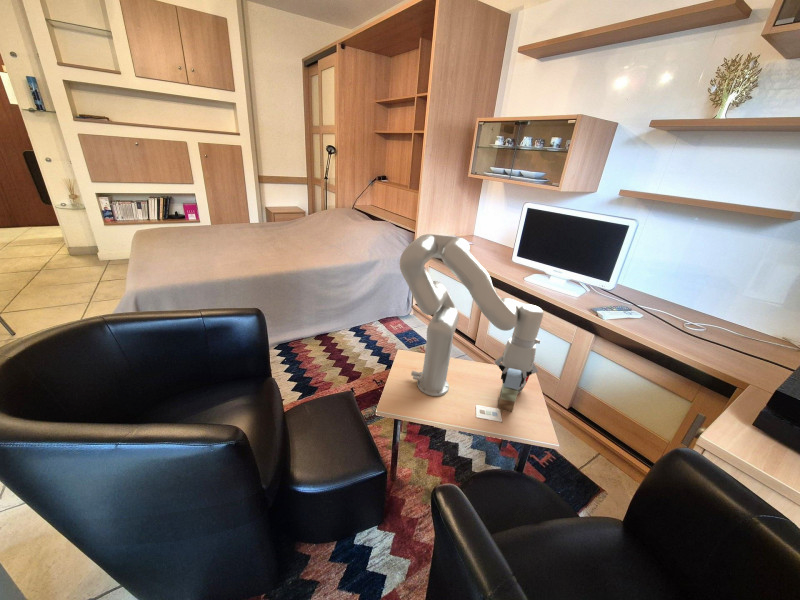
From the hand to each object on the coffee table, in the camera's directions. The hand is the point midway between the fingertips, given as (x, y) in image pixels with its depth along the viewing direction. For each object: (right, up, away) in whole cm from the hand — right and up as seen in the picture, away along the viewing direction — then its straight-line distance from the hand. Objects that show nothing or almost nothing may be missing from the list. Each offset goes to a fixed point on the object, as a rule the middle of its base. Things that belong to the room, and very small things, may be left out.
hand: (511, 382), depth 120 cm
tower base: (-1, -10, +5) cm, 11 cm away
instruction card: (-8, -12, +1) cm, 14 cm away
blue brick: (0, -1, 0) cm, 1 cm away
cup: (+6, -7, +15) cm, 17 cm away
